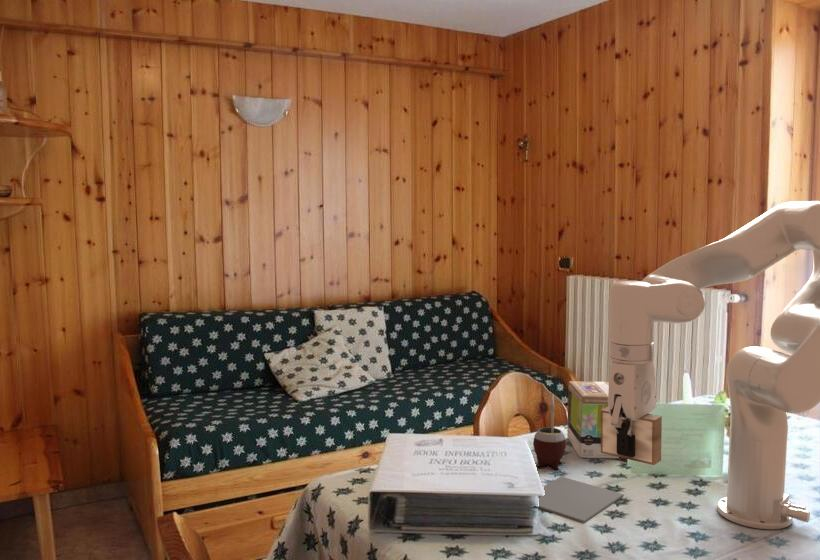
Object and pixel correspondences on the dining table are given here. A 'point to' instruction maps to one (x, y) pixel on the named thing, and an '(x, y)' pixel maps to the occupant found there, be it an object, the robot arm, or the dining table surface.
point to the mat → (576, 499)
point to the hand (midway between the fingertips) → (630, 451)
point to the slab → (645, 437)
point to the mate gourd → (549, 444)
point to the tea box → (587, 417)
